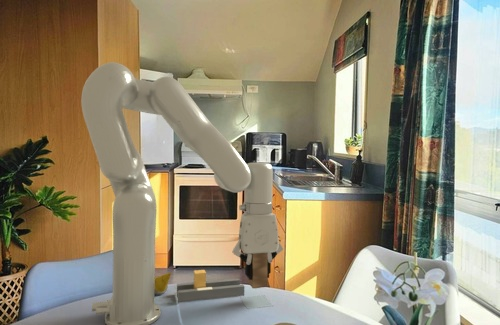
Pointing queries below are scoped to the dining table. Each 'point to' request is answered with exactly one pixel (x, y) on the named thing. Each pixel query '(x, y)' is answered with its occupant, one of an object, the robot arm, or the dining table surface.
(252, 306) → the mat
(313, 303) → the dining table surface
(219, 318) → the dining table surface
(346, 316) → the dining table surface
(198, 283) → the switch tab
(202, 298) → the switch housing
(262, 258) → the wooden block
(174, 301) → the dining table surface
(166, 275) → the yellow-filled grey round bowl
